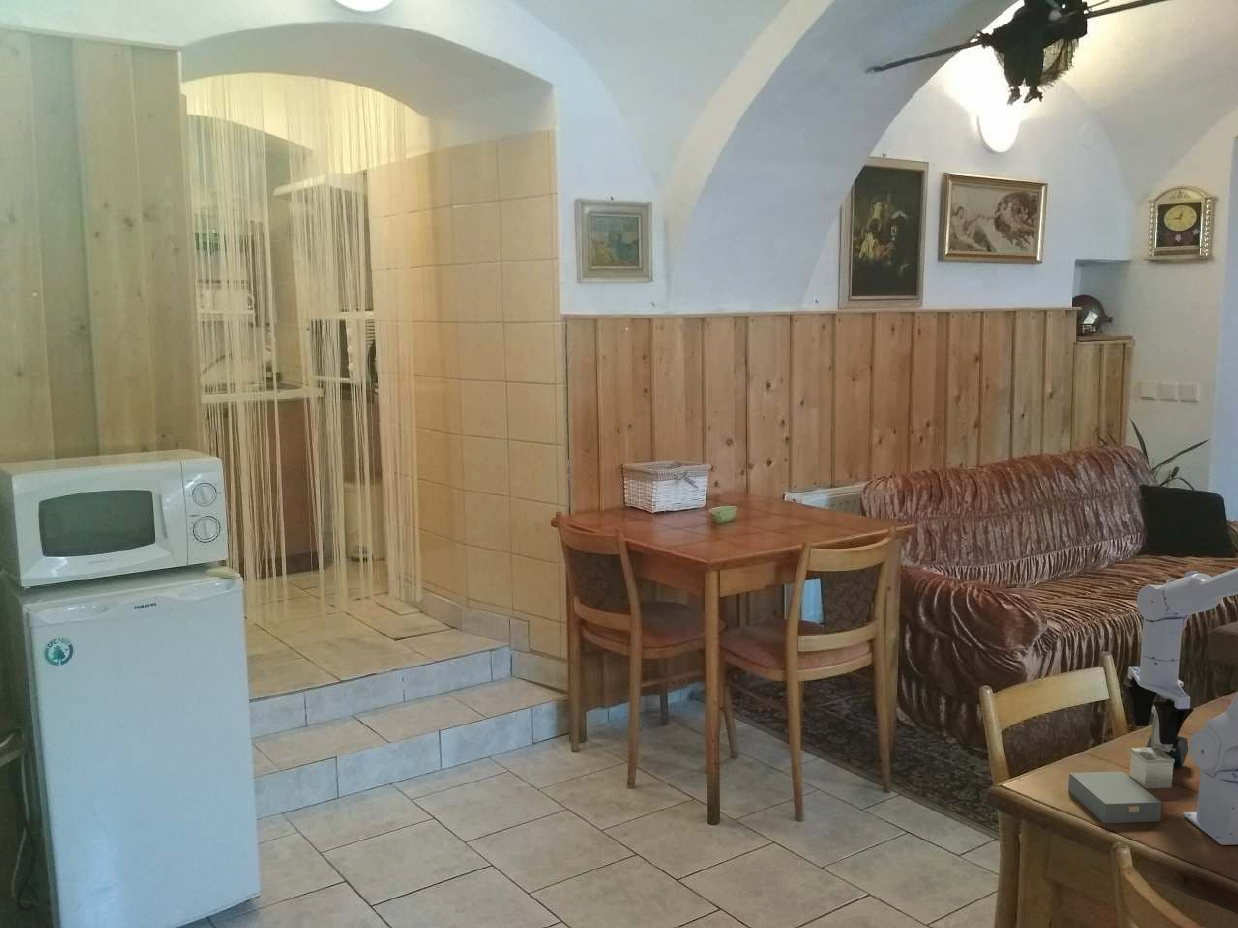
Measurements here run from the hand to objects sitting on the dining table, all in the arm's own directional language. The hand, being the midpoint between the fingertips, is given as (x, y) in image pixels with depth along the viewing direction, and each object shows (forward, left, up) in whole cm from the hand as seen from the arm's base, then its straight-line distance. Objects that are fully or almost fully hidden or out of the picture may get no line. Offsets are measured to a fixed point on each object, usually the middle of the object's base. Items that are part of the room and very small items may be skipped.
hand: (1153, 734), depth 173 cm
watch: (+8, -8, -7) cm, 13 cm away
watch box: (-8, +11, -9) cm, 16 cm away
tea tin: (0, 0, -8) cm, 8 cm away
